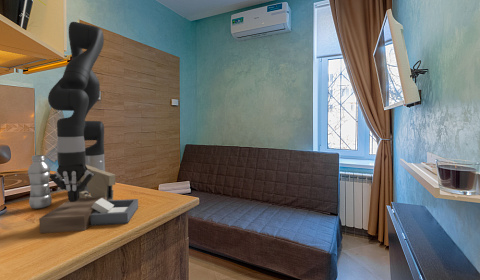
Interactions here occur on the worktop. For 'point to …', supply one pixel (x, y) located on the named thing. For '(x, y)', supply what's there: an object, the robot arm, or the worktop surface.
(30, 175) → the plastic bottle
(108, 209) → the tile
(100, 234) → the worktop surface
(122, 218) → the box
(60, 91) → the robot arm
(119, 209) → the tile
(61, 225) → the brown wooden block
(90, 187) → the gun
